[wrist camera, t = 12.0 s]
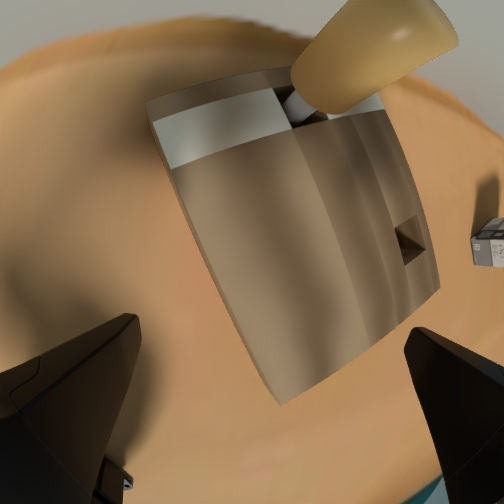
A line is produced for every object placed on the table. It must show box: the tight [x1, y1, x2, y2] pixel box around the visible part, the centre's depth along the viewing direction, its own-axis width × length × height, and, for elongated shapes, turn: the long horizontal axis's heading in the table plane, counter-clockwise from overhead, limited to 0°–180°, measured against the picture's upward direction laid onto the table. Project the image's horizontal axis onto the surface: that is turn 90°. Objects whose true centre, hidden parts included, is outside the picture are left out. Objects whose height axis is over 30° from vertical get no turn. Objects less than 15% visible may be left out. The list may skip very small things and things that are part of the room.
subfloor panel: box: [145, 66, 440, 405], centre depth 18 cm, size 16×20×3 cm
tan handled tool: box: [281, 0, 459, 129], centre depth 12 cm, size 4×4×14 cm
